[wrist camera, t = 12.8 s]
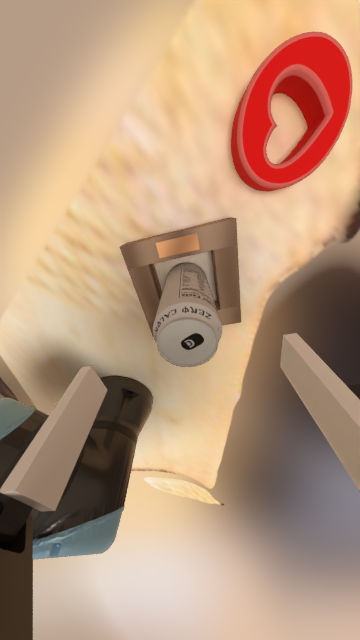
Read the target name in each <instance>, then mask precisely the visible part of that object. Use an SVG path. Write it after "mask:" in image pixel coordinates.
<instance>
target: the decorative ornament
mask: <svg viewBox="0 0 360 640" xmlns="http://www.w3.org/2000/svg"><path fill="white" fill-rule="evenodd" d="M275 93H283V94H286V95H287V96H289V97H290V98H292V99H293V100H294V101H295V102H296V104H297V105H298V106H299V108H300V109H301V111H302V113H303V115H304V117H305V120H306V122H307V125H308V130H307V131H306V133H305V134H304V136H303V137H302V139H301V140H300V141H299V143H298V144H297V146H296V147H295V148H294V150H293V151H292V152H291V153H290V155H289V156H288V157H287V158H286V159H285V160H284V161H283V162H282V163H280V164H273V163H271V162H270V161H269V159H268V158H267V154H266V146H267V142H268V140H269V137H270V135H271V133H272V131H273V130H274V128H275V127H276V126H277V125H276V123H275V122H274V120H273V118H272V114H271V98H272V95H273V94H275ZM351 96H352V73H351V67H350V63H349V60H348V57H347V55H346V52H345V51H344V49H343V47H342V46H341V45H340V44H339V43H338V42H337V41H336V40H335V39H334V38H333V37H331V36H330V35H328V34H326V33H322V32H308V33H303V34H300V35H297V36H295V37H292V38H290V39H289V40H287V41H285V42H284V43H282V44H281V45H280V46H278V47H277V48H276V49H275V50H274V51H273V52H272V53H271V54H270V55H269V56H268V57H267V58H266V59H265V60H264V61H263V63H262V64H261V65H260V67H259V68H258V69H257V71H256V73H255V74H254V76H253V78H252V79H251V81H250V83H249V85H248V87H247V89H246V91H245V93H244V95H243V97H242V100H241V102H240V104H239V106H238V109H237V112H236V115H235V119H234V123H233V129H232V138H231V151H232V158H233V162H234V165H235V168H236V171H237V173H238V174H239V176H240V177H241V179H242V180H243V181H244V182H245V183H246V184H247V185H248V186H250V187H252V188H254V189H256V190H260V191H273V190H277V189H281V188H285V187H289V186H291V185H293V184H296V183H297V182H299V181H301V180H303V179H304V178H306V177H307V176H309V175H310V174H311V173H312V172H313V171H315V170H316V169H317V168H318V167H319V166H320V164H321V163H322V162H323V161H324V160H325V158H326V157H327V156H328V154H329V153H330V151H331V150H332V148H333V147H334V145H335V143H336V142H337V140H338V138H339V136H340V134H341V132H342V129H343V127H344V125H345V122H346V119H347V116H348V113H349V109H350V103H351Z"/></svg>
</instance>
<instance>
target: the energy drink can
mask: <svg viewBox="0 0 360 640" xmlns="http://www.w3.org/2000/svg"><path fill="white" fill-rule="evenodd" d="M221 334H222V325H221V322H220V319H219V316H218V312H217V309H216V306H215V303H214V300H213V297H212V294H211V291H210V287H209V284H208V281H207V278H206V275H205V273H204V271H203V270H202V269H201V268H200V267H198V266H197V265H194V264H191V263H183V264H179V265H177V266H175V267H174V268H173V269H172V270H171V271H170V272H169V274H168V276H167V279H166V282H165V286H164V289H163V293H162V296H161V300H160V303H159V307H158V310H157V314H156V317H155V321H154V325H153V335H154V339H155V341H156V343H157V347H158V350H159V352H160V354H161V356H162V357H163V358H164V359H165V360H167V361H168V362H170V363H172V364H174V365H177V366H182V367H194V366H198V365H201V364H203V363H205V362H207V361H209V360H210V359H211V358H212V357H213V356H214V354H215V353H216V350H217V347H218V343H219V340H220V338H221Z"/></svg>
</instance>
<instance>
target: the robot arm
mask: <svg viewBox="0 0 360 640" xmlns="http://www.w3.org/2000/svg"><path fill="white" fill-rule="evenodd" d="M280 367H281V368H282V370H283V372H284V373H285V374H286V376H287V378H288V379H289V381H290V383H291V384H292V386H293V387H294V389H295V390H296V392H297V394H298V395H299V397H300V398H301V400H302V401H303V403H304V405H305V406H306V408H307V409H308V411H309V412H310V414H311V416H312V417H313V419H314V420H315V422H316V423H317V425H318V427H319V428H320V430H321V431H322V433H323V434H324V436H325V437H326V439H327V441H328V442H329V444H330V445H331V447H332V448H333V450H334V452H335V453H336V455H337V456H338V458H339V459H340V461H341V463H342V464H343V466H344V467H345V469H346V470H347V472H348V473H349V475H350V477H351V478H352V480H353V482H354V483H355V485H356V486H357V488H358V489H359V491H360V385H359V384H358V385H348V386H346V385H345V384H344V383H343V382H342V381H341V380H340V379H339V377H338V376H337V375H336V374H335V373H334V372H333V371H332V370H331V369H330V368H329V367H328V366H327V365H326V364H325V363H324V362H323V361H322V360H321V359H320V358H319V356H318V355H317V354H316V353H315V352H314V351H313V350H312V349H311V348H310V347H309V346H308V345H307V344H306V343H305V342H304V341H303V340H302V339H301V338H300V336H299V335H298V334H297V333H294V334H288V335H283V344H282V353H281V363H280ZM152 403H153V397H152V394H151V393H150V391H149V390H148V389H147V388H146V387H145V386H144V385H142V384H141V383H139V382H137V381H135V380H132V379H129V378H125V377H119V376H110V377H104V378H101V379H100V378H99V376H98V375H97V373H96V372H95V370H94V369H93V367H92V366H85V367H81V369H80V370H79V372H78V373H77V375H76V376H75V378H74V379H73V381H72V382H71V384H70V385H69V387H68V388H67V390H66V391H65V393H64V394H63V396H62V397H61V399H60V400H59V402H58V403H57V405H56V406H55V408H54V409H53V411H52V412H51V414H50V415H49V416H48V415H46V414H44V413H42V412H40V411H38V410H36V408H35V407H33V406H27V405H25V404H23V403H20V402H18V401H16V400H14V399H11V398H0V640H33V639H32V638H33V635H32V634H33V633H32V632H33V631H32V630H33V627H32V625H33V622H32V621H33V609H32V608H33V606H32V605H33V589H32V588H33V559H44V558H54V557H67V556H77V555H90V554H99V553H103V552H105V551H106V550H108V549H109V548H110V546H111V545H112V543H113V542H114V540H115V537H116V534H117V530H118V526H119V522H120V518H121V514H122V511H123V510H124V502H125V497H126V493H127V488H128V483H129V478H130V473H131V468H132V463H133V458H134V453H135V448H136V443H137V439H138V435H139V433H140V432H141V430H142V428H143V426H144V424H145V422H146V420H147V418H148V416H149V414H150V412H151V409H152Z"/></svg>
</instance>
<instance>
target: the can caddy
mask: <svg viewBox="0 0 360 640" xmlns="http://www.w3.org/2000/svg"><path fill="white" fill-rule="evenodd" d="M120 249H121V252H122V255H123V257H124V260H125V263H126V265H127V268H128V271H129V273H130V276H131V279H132V281H133V284H134V287H135V289H136V292H137V295H138V297H139V300H140V303H141V305H142V308H143V311H144V313H145V316H146V319H147V321H148V324H149V327H150V329H151V332H152V335H153V325H154V321H155V317H156V314H157V310H158V307H159V303H160V300H161V296H162V291H161V288H160V284H159V281H158V277H157V274H156V271H155V267H154V263H158V262H163V261H167V260H171V259H176V258H180V257H185V256H189V255H194V254H198V253H203V252H207V251H212V259H213V267H214V276H215V284H216V292H217V300H218V301H214V303H215V306H216V309H217V312H218V316H219V319H220V322H221V325H227V324H233V323H239V322H241V310H240V289H239V268H238V247H237V226H236V218H226V219H222V220H218V221H214V222H210V223H206V224H202V225H198V226H194V227H190V228H186V229H182V230H178V231H174V232H170V233H166V234H162V235H158V236H154V237H149V238H145V239H141V240H137V241H133V242H129V243H126V244H124V245H122V246H120ZM153 337H154V335H153Z"/></svg>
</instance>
